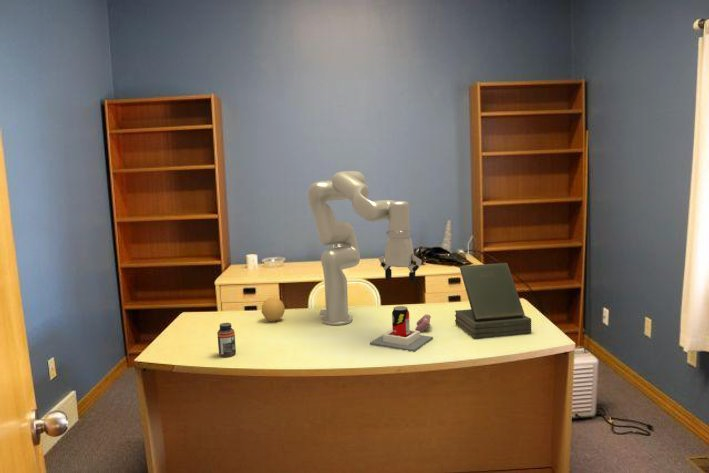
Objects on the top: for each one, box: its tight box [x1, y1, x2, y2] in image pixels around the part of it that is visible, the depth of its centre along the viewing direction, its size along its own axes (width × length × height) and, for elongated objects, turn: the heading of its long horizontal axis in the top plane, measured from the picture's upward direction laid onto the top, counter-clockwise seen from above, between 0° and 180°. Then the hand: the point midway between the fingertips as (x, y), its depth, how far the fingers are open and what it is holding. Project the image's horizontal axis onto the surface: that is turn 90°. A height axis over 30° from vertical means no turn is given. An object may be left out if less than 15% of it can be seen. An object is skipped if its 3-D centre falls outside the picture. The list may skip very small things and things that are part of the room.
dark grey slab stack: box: [454, 262, 532, 340], centre depth 203 cm, size 23×20×25 cm
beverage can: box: [391, 305, 411, 337], centre depth 193 cm, size 6×6×12 cm
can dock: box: [369, 329, 434, 353], centre depth 193 cm, size 18×16×3 cm
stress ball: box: [261, 297, 286, 322], centre depth 227 cm, size 10×10×10 cm
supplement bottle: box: [216, 322, 237, 358], centre depth 186 cm, size 6×6×11 cm
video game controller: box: [415, 314, 431, 333], centre depth 208 cm, size 10×5×7 cm, turn 169°
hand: (400, 281), depth 192 cm, fingers open, 9 cm apart
